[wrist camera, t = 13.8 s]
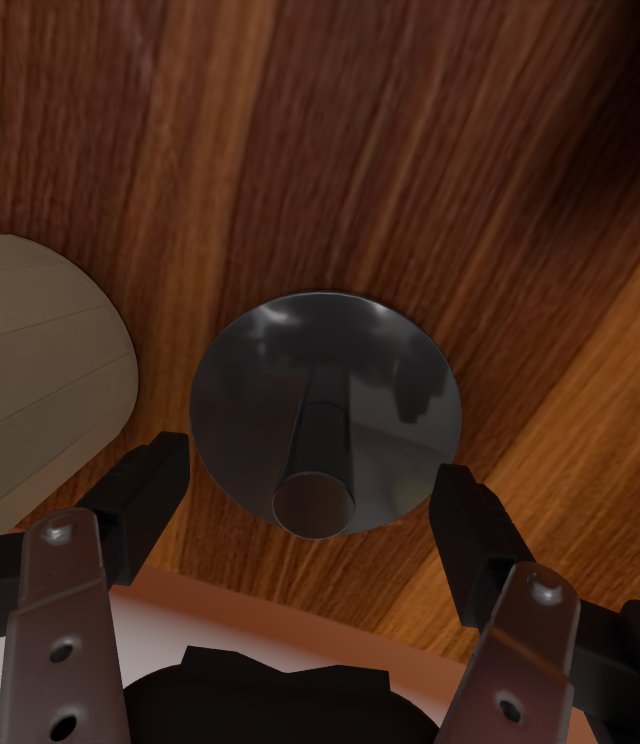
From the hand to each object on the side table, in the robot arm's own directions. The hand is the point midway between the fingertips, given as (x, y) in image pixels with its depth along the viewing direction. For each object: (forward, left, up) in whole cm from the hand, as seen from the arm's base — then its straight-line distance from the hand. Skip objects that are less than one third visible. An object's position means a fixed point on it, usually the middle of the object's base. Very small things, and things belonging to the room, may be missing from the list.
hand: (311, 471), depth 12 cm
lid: (0, 0, -4) cm, 4 cm away
